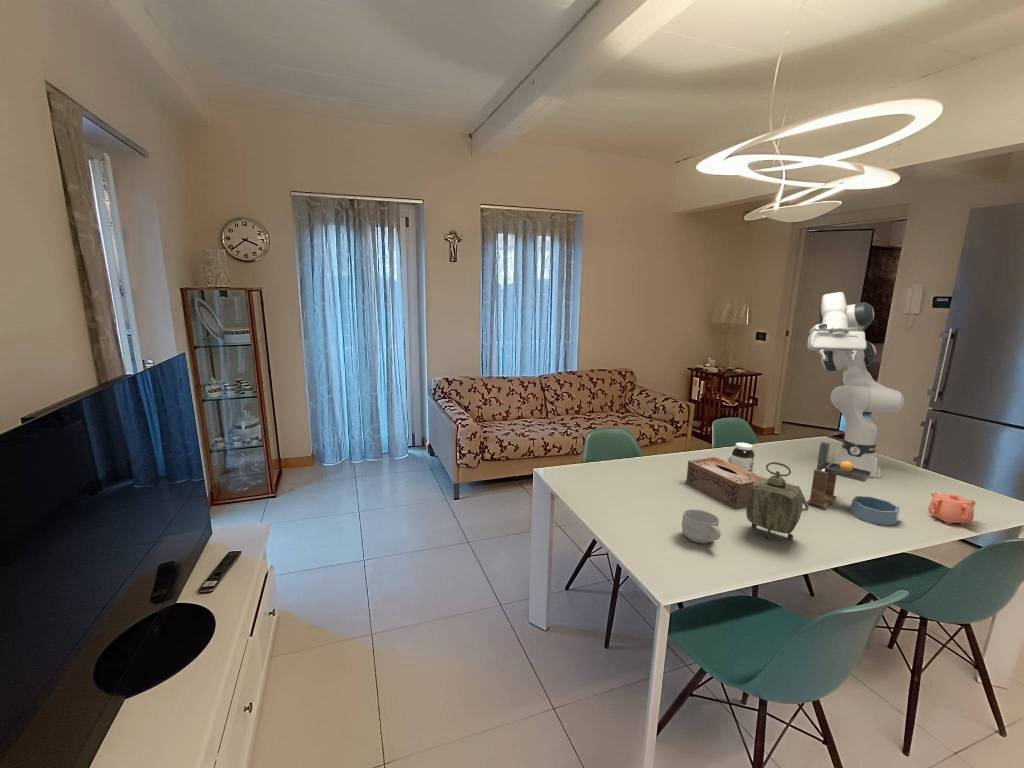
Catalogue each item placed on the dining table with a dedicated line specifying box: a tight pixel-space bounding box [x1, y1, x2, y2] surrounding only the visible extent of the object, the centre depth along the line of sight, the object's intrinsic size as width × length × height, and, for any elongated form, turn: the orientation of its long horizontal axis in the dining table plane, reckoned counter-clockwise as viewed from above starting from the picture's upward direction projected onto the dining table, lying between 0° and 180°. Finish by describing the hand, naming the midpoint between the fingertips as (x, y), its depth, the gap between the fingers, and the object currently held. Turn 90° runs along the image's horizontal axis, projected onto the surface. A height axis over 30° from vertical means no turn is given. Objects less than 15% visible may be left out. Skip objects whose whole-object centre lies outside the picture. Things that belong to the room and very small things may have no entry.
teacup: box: [681, 508, 722, 544], centre depth 145 cm, size 14×11×8 cm
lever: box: [816, 441, 871, 483], centre depth 169 cm, size 10×15×11 cm, turn 42°
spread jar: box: [727, 442, 755, 472], centre depth 209 cm, size 12×11×12 cm
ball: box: [840, 461, 853, 472], centre depth 168 cm, size 4×4×4 cm
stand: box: [806, 461, 838, 511], centre depth 174 cm, size 15×6×14 cm, turn 132°
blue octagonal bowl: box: [850, 495, 901, 527], centre depth 163 cm, size 13×13×5 cm
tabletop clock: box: [745, 461, 804, 540], centre depth 147 cm, size 14×9×25 cm, turn 48°
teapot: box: [927, 492, 976, 526], centre depth 161 cm, size 12×12×10 cm
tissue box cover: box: [686, 456, 766, 510], centre depth 182 cm, size 26×14×10 cm, turn 22°
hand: (837, 360), depth 186 cm, fingers open, 8 cm apart
